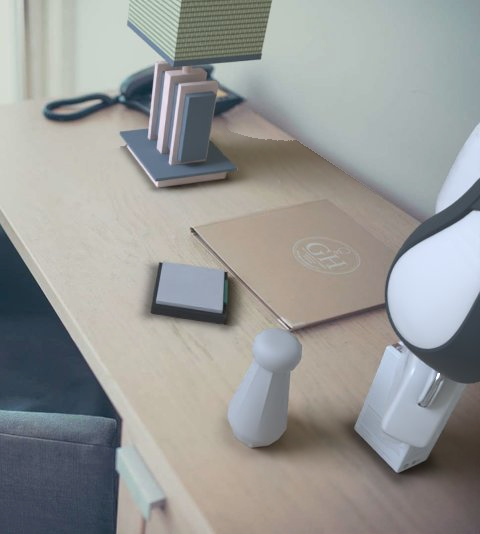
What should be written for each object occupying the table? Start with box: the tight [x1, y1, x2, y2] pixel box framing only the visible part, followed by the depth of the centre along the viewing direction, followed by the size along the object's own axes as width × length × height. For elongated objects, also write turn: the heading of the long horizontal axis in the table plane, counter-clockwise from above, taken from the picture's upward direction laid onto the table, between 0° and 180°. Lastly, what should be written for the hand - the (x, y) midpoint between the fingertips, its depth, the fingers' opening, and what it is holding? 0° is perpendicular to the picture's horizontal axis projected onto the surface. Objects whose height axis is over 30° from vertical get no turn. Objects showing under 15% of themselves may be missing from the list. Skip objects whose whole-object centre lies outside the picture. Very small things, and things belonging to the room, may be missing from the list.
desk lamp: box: [119, 0, 273, 189], centre depth 99 cm, size 18×14×33 cm
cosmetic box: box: [353, 340, 468, 474], centre depth 61 cm, size 6×4×12 cm
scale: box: [150, 261, 229, 325], centre depth 81 cm, size 9×9×2 cm
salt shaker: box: [227, 327, 303, 449], centre depth 61 cm, size 6×6×13 cm
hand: (400, 400), depth 61 cm, fingers open, 8 cm apart
